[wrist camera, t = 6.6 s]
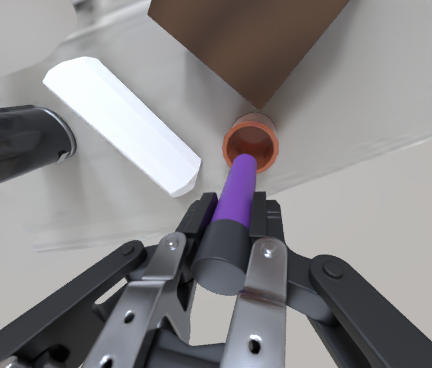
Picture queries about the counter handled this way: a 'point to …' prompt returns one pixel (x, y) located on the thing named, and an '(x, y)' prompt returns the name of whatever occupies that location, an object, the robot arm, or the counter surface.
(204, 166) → the counter surface
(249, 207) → the marker
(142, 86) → the counter surface
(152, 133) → the crystal
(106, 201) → the counter surface
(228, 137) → the pen cup
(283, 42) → the shelf
